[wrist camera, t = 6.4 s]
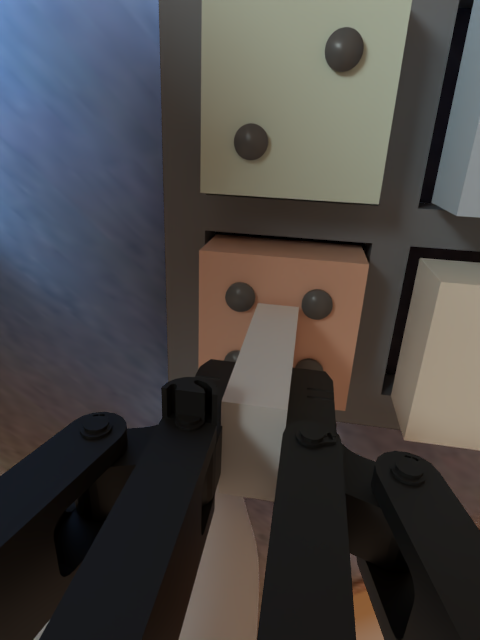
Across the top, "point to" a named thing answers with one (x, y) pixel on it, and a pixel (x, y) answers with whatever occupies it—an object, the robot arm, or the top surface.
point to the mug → (224, 578)
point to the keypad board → (310, 215)
